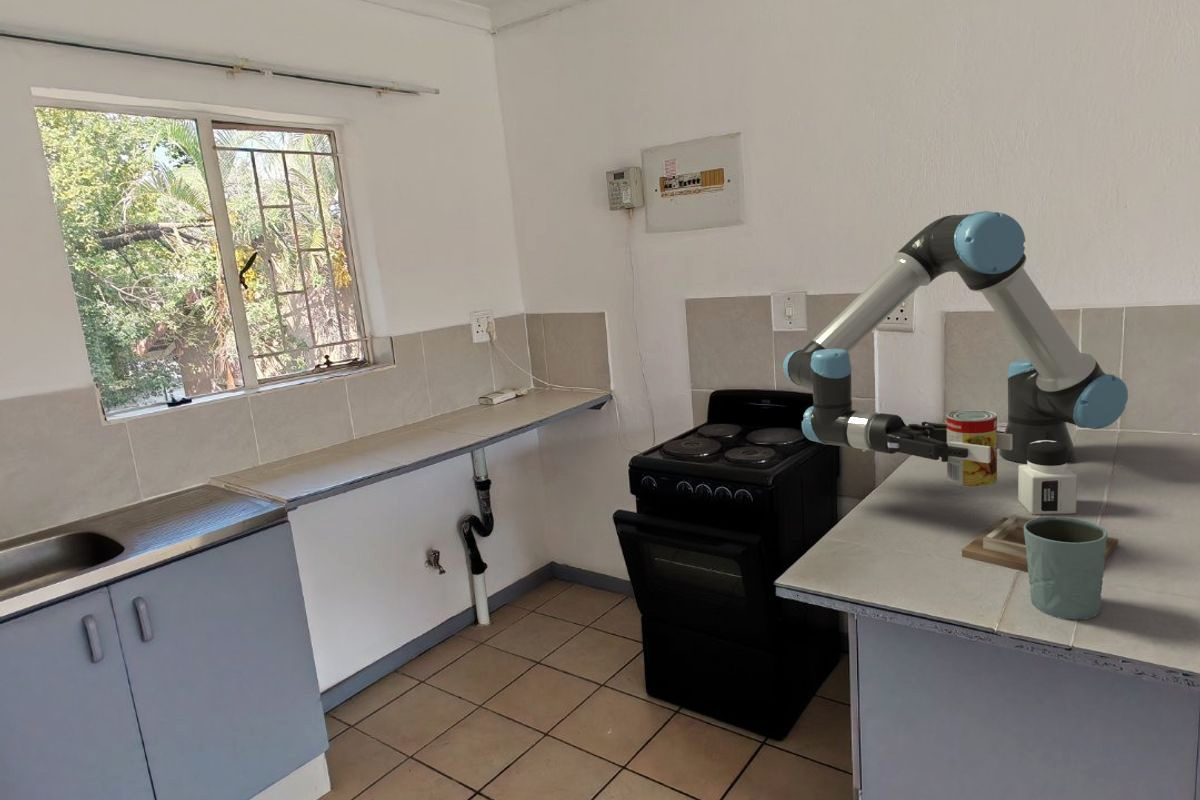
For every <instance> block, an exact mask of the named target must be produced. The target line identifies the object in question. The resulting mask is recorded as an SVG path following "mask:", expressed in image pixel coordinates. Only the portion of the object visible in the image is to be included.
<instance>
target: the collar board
mask: <svg viewBox="0 0 1200 800" xmlns="http://www.w3.org/2000/svg"><path fill="white" fill-rule="evenodd" d="M1033 519H1034V518H1031V517H1026V516H1022V515H1021V516H1020V515H1015V514H1013V515H1012V516H1011V517H1005V516H1004V517H1002V519H1001V520H999V521H998V522H996V523H995V524H994V525H993V526H991V527H990V528H989V529H987V530H986V531H985V532H983V533H982V534H981V535H979V536H978V537H976V538H975V539H974V540H972V541H971V542H970V543H969V544H968V545H966V546H965V547H963V548H962V549H961V557H964V558H968V559H971V560H972V559H973V560H977V561H980V562H984V563H989V564H993V565H997V566H1002V567H1005V568H1010V569H1014V570H1018V571H1021V572H1022V571H1023V572H1025V573H1026V572H1027V573H1028V563H1027V551H1026V544H1025V536H1024V525H1025V523H1026V522H1028V521H1030V520H1033ZM1118 547H1119V538H1113V537H1110V536H1109V537H1108V536H1107V542H1106V551H1105V555H1104V561H1106V560H1107V558H1108V557H1109V556H1110V555H1112V553H1113V552H1114V551H1115V550H1116V549H1117V548H1118Z"/></svg>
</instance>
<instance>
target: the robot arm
mask: <svg viewBox="0 0 1200 800" xmlns="http://www.w3.org/2000/svg"><path fill="white" fill-rule="evenodd" d="M1025 243H1026V236H1025V232H1024V230H1023V227H1022V226H1021V225H1020V223H1019V222H1018V221H1017V220H1016V219H1015V218H1014V217H1012V216H1010V215H1009V214H1006V213H1003V212H998V211H996V212H995V211H989V210H986V211H985V210H983V211H977V212H974V213H965V214H951V215H945V216H943V217H941V218H938V219H936V220H934V221H933V222H931V223H929V224H928V225H927V226H925V227H924V228H923V229H922V230H920V231H919V232H918V233H917V234H915V236H913V237H912V238H911V239H909V241H907V243H905V245H904V246H903V247H902V248H900V249H899V250H898V251H897V252H896V253H895V254H894V258H893V259H894V260H893V262H892V263H891V264H890V265H889V266H888V267H887V268H886V269H885V270H884V271H883V272H881V274H880V275H879V276H878V277H877V278H876V279H874V280H873V281H872V283H870V284H869V285H868V287H866V288H865V289H864V290H863V291H862V292H861V293H860V294H859V295H858V296H856V298H855V299H853V301H852V302H850V304H848V306H846V307H845V309H844V310H843V311H842V312H840V313H839V314H838V315H837V316H836V317H835V318H834V319H833V320H832V321H831V322H830V323H829V324H828V325H827V326H826V327H824V329H823V330H821V331H820V332H819V333H818V334H817V335H816V336H815V337H814V338H813V339H812V340H811V341H810V342H809V343H808V344H806V345H805V347H804V348H802V349H795V350H793V351H791V352H789V353H788V354H787V355H786V356H785V358H784V360H783V362H782V363H783V364H782V371H783V373H784V376H785V377H786V379H788V380H789V381H790V382H792V383H793V384H795V385H796V386H799V387H802V388H803V387H804V388H806V389H807V390H810V391H812V399H813V403H812V404H813V405H812V406H810V407H807V409H805V412H804V413H803V416H802V417H803V420H802V421H801V430H802V433H803V435H804V436H805V437H806V439H808V440H809V441H812V442H816V443H821V444H823V445H832V446H839V447H847V448H853V449H860V450H861V451H862V452H864V453H866V452H868V451H875V452H877V453H882V454H883V453H885V454H890V455H893V454H896V453H901V454H906V455H911V456H916V457H919V458H923V459H924V458H925V459H928V460H934V461H938V460H941V462H942V463H947V462H948V456H950V458H957V459H963V460H970V461H977V462H983V463H990V446H982V445H974V444H967V443H959V442H952V441H951V442H950V443H949V444H950V446H948V443H947V423H946V424H945V423H936V422H935V423H933V422H928V421H922V422H921V425H920V424H918V423H909V424H908V425H907V424H905V422H904V419H903V418H902V417H901V416H899V415H898V414H892V413H890V414H889V413H879V412H876V411H875V412H874V411H864V410H855V409H853V401H852V400H853V398H852V396H853V395H852V394H853V393H852V370H853V368H852V365H851V357H850V352H852V350H854V349H855V348H856V347H857V346H858V345H859V344H860V343H861V342H862V341H863V340H864V339H866V337H868V335H870V334H871V333H872V332H873V331H874V330H875V329H876V328H877V327H878V326H879V325H880V324H881V323H882V322H883V321H884V320H886V318H888V317H889V315H891V314H892V313H893V312H894V311H895V310H896V309H897V308H898V307H900V305H902V303H903V302H904V301H905V300H907V299H908V298H909V297H910V296H911V295H912V294H913V293H914V292H915V291H916V290H918V288H919V287H921V286H922V287H924V286H928V285H930V284H931V283H932V282H933V281H934V280H935V279H936V278H938V277H940V276H942V275H944V274H946V273H949V272H953V273H957V274H958V275H959V276H960V278H961V279H962V281H963V282H964V283H965V285H966V287H967V288H968V289H969V290H970V291H972V292H976V293H977V292H978V293H982V295H983V296H984V298H985V299H986V301H987V302H988V304H989V305H990V306H991V308H992V309H993V311H994V312H995V314H996V315H997V316H998V317H999V320H1001V322H1002V324H1003V325H1004V327H1006V330H1008V333H1010V335H1011V336H1012V338H1013V340H1014V341H1015V342H1016V344H1017V345H1018V347H1019V348H1020V350H1022V351H1021V352H1022V353H1023V354H1024V355H1025V357H1026V358H1027V359H1026V358H1025V359H1020V360H1019V359H1018V360H1015V361H1013V362H1011V363H1010V364H1009V366H1008V371H1007V372H1008V373H1007V377H1006V378H1007V379H1006V380H1007V424H1006V427H1005V430H1004V432H997V450H999V456H1000V455H1001V456H1000V457H1002V458H1003V459H1005V460H1008V461H1011V460H1012V462H1015V461H1016V462H1015V463H1020V464H1027V455H1028V445H1029V444H1030V443H1033V442H1036V441H1042V440H1049V441H1056V442H1060V443H1062V444H1064V445H1066V446H1067V448H1068V451H1067V462H1070V461H1072V460H1073V459H1074V458H1075V446H1074V443H1073V441H1072V438H1071V435H1070V433H1069V428H1068V426H1067V423H1068V424H1072V425H1074V426H1077V427H1079V428H1085V429H1086V428H1087V429H1091V430H1100V429H1104V428H1106V427H1108V426H1110V425H1112V424H1114V423H1115V422H1116V421H1117V420H1118V419H1119V418H1120V417H1121V415H1122V414H1123V413H1124V411H1125V409H1126V405H1127V402H1128V398H1129V392H1128V388H1127V384H1126V383H1125V382H1124V380H1123V379H1121V378H1120V377H1118V376H1116V375H1115V374H1111V373H1110V374H1109V373H1106V372H1104V370H1103V369H1102V367H1101V366H1100V365H1099V363H1098V362H1097V360H1096V359H1095V357H1094V356H1093V355H1091V354H1090V353H1085V352H1080V350H1079V348H1078V347H1077V346H1076V344H1075V343H1074V341H1073V340H1072V338H1071V337H1070V335H1069V334H1068V332H1067V331H1066V329H1065V328H1064V326H1063V325H1062V324H1061V323H1062V322H1060V320H1059V318H1057V316H1056V315H1055V313H1054V311H1053V310H1052V309H1051V307H1050V305H1049V304H1048V303H1047V301H1046V300H1045V298H1044V297H1043V295H1042V293H1041V292H1040V291H1039V289H1038V288H1037V286H1036V284H1035V283H1034V282H1033V280H1032V278H1031V277H1030V276H1029V274H1028V273H1027V271H1026V270H1025V268H1024V267H1025V264H1026V261H1027V256H1026V254H1025V249H1026V246H1024V244H1025ZM940 458H941V459H940Z"/></svg>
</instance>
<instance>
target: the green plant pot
mask: <svg viewBox="0 0 1200 800" xmlns="http://www.w3.org/2000/svg"><path fill="white" fill-rule="evenodd" d="M1032 519H1033V520H1030V521H1028V522H1026V523H1025V525H1024V536H1025V544H1026V551H1027V563H1028V572H1027V573H1028V582H1029V584H1030V587H1029V588H1030V589H1029V592H1030V593H1029V595H1030V602H1031V604H1032V606H1033V605H1034V606H1035V607H1036V608H1037V609H1036V608H1035V607H1034V606H1033V607H1034V608H1035V609H1036V610H1038V609H1039V610H1040V611H1039V610H1038V611H1039V612H1041V611H1042V612H1041V613H1043V612H1044V613H1043V614H1045V613H1046V615H1047V614H1048V616H1050V615H1051V617H1054V618H1057V617H1060V618H1059V619H1062V618H1069V619H1068V620H1070V619H1081V620H1086V619H1085V618H1088V619H1092V618H1091V617H1093V618H1095V617H1096V616H1097V615H1099V613H1100V610H1101V604H1102V590H1103V584H1104V583H1103V578H1104V570H1105V560H1104V555H1105V551H1106V542H1107V537H1108V531H1106V529H1105V528H1104V527H1103V526H1101V525H1100V524H1097V523H1095V522H1093V521H1088V520H1084V519H1080V518H1077V517H1076V518H1075V517H1069V516H1046V517H1045V516H1043V517H1042V516H1041V517H1036V518H1032ZM1095 615H1096V616H1095ZM1094 616H1095V617H1094Z"/></svg>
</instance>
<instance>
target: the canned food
mask: <svg viewBox="0 0 1200 800" xmlns="http://www.w3.org/2000/svg"><path fill="white" fill-rule="evenodd" d="M946 424H947V443H948V446H950V444H949V443H950V442H951V441H952V442H959V443H967V444H974V445H982V446H990V463H983V462H977V461H970V460H963V459H957V458H950V456H948V462H946V465H947V466H946V467H947V468H946V469H947V470H946V471H947V472H946V473H947V474H946V475H947V476H946V477H947V478H946V479H947V481H948V482H949V483H950V484H953V485H955V486H959V487H966V488H985V487H991V486H993V485H995V484H997V482H998V449H997V433H998V413H996V412H993V411H991V410H986V409H980V408H979V409H978V408H977V409H974V408H966V409H956V410H952V411H949V412H947V414H946Z"/></svg>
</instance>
